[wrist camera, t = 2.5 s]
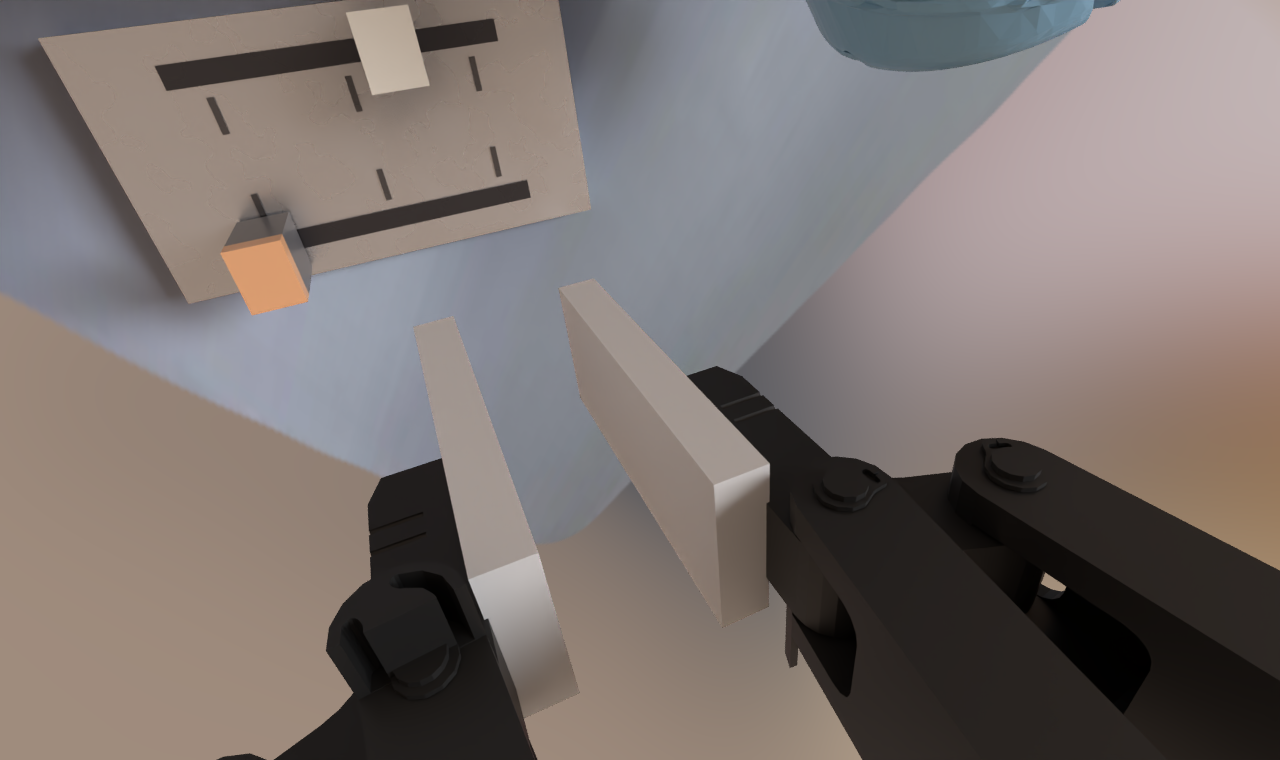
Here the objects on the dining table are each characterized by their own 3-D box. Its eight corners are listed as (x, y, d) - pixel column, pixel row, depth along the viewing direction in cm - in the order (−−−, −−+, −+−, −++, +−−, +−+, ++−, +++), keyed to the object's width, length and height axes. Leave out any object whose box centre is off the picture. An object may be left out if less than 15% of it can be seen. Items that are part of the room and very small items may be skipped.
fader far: (236, 222, 30) (220, 253, 26) (288, 211, 31) (280, 240, 27) (263, 278, 32) (252, 315, 28) (312, 267, 33) (307, 301, 29)
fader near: (345, 13, 28) (345, 12, 24) (399, 6, 29) (407, 4, 25) (368, 84, 30) (372, 95, 26) (418, 76, 30) (429, 85, 26)
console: (56, 37, 26) (36, 38, 25) (544, -24, 32) (554, -26, 31) (196, 290, 33) (188, 304, 31) (581, 201, 39) (591, 209, 37)
